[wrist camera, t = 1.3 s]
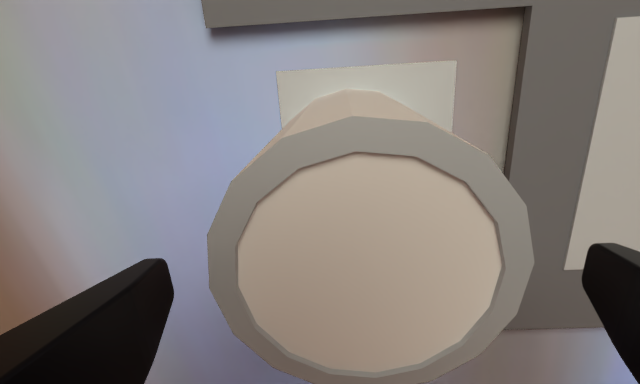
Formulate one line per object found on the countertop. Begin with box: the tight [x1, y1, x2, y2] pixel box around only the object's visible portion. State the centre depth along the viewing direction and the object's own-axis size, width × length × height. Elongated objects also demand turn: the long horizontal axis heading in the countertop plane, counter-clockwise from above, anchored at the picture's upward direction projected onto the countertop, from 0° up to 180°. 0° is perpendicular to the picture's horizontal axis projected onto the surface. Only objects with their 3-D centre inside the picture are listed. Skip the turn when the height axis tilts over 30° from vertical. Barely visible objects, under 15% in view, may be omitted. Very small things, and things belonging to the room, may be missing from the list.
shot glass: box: [207, 88, 535, 384], centre depth 12 cm, size 7×7×7 cm
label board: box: [201, 0, 640, 330], centre depth 14 cm, size 22×15×1 cm
